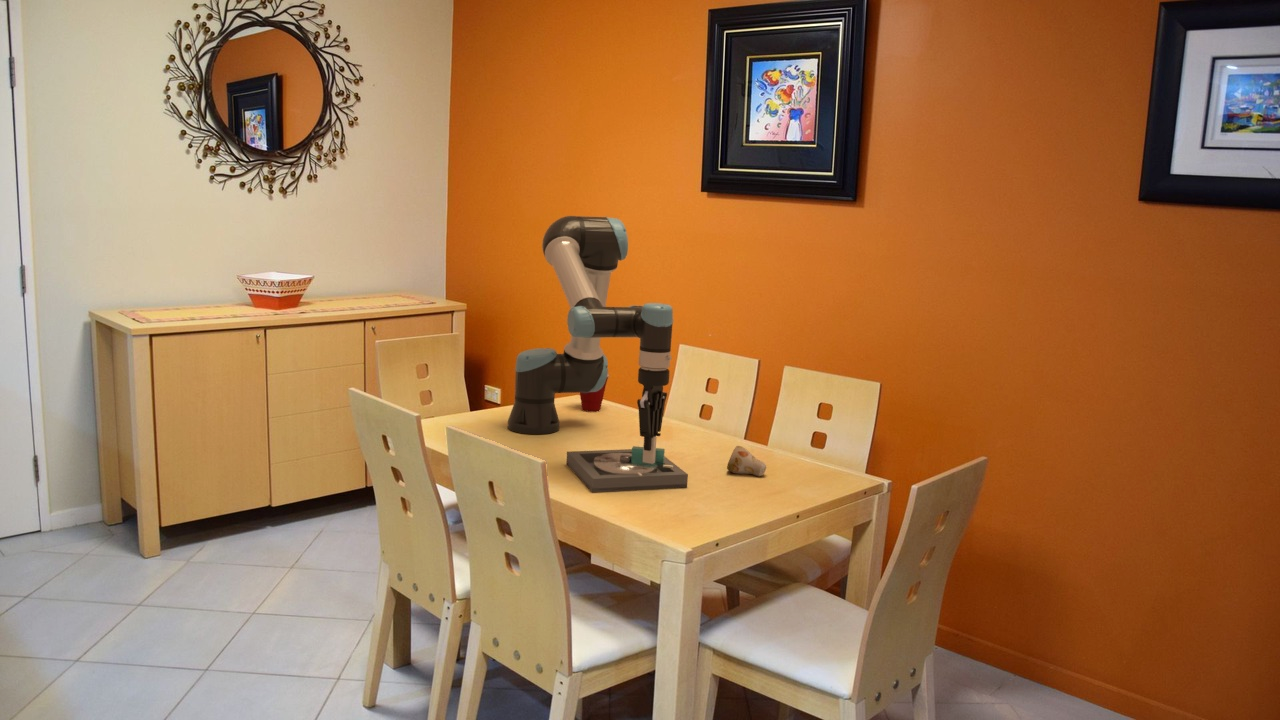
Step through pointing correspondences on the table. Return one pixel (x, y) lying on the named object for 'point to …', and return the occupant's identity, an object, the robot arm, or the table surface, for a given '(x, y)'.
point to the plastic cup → (593, 399)
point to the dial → (627, 462)
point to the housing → (663, 479)
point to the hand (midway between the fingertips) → (648, 462)
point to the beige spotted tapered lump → (745, 463)
